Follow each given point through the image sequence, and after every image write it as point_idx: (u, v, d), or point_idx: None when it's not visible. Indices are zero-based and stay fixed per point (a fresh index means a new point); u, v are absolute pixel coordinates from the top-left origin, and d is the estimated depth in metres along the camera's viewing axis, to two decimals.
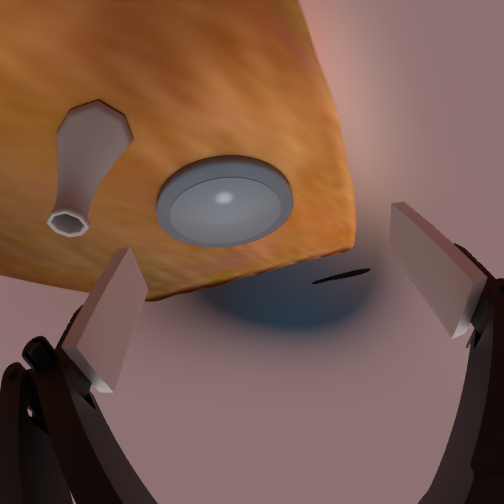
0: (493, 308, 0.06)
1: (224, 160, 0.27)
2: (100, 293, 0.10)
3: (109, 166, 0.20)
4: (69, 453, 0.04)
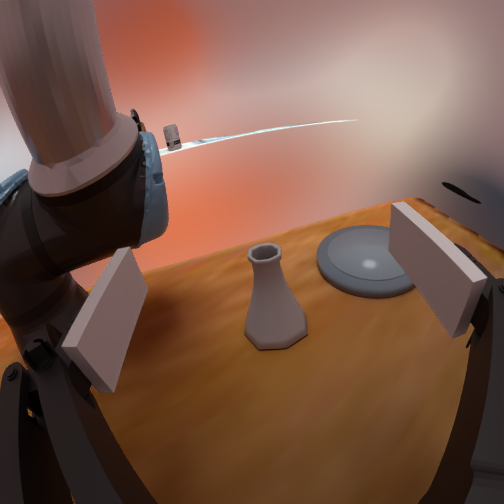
0: (493, 308, 0.06)
1: (317, 259, 0.40)
2: (100, 293, 0.10)
3: None
4: (69, 453, 0.04)
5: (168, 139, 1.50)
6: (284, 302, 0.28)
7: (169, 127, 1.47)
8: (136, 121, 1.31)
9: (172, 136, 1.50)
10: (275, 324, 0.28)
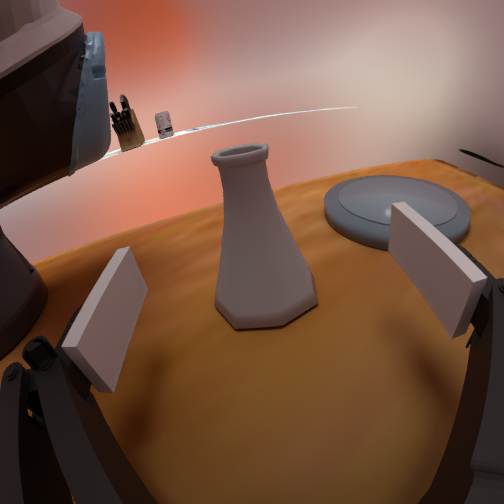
0: (493, 308, 0.06)
1: None
2: (100, 293, 0.10)
3: None
4: (69, 453, 0.04)
5: (159, 126, 1.40)
6: (276, 241, 0.16)
7: (160, 113, 1.36)
8: (125, 107, 1.20)
9: (163, 123, 1.39)
10: (261, 282, 0.16)
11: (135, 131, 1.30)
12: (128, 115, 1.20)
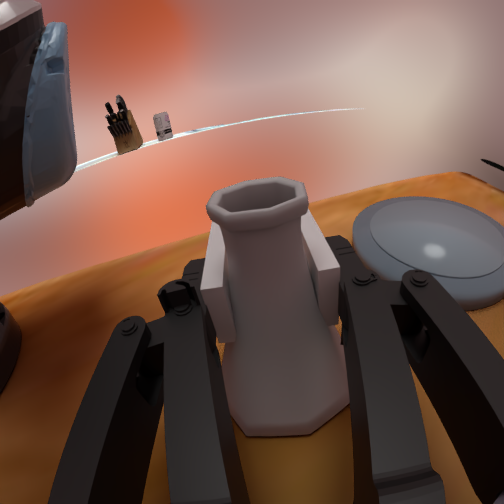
0: (350, 306, 0.08)
1: (353, 245, 0.22)
2: (221, 244, 0.12)
3: None
4: (183, 415, 0.06)
5: (158, 128, 1.34)
6: (311, 337, 0.10)
7: (159, 114, 1.30)
8: (122, 108, 1.14)
9: (162, 125, 1.33)
10: (286, 390, 0.10)
11: (132, 133, 1.24)
12: (124, 116, 1.14)
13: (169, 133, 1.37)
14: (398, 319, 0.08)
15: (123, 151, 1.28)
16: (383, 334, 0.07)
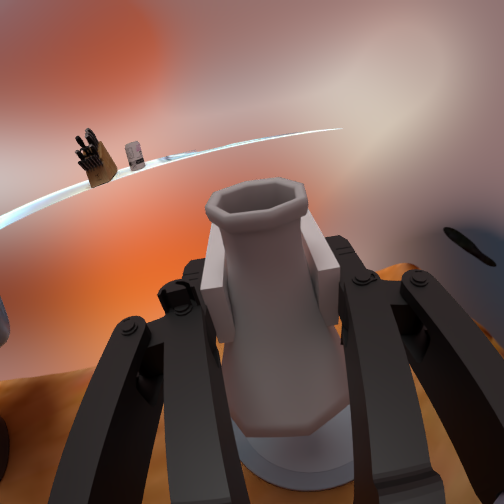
0: (349, 306, 0.08)
1: None
2: (221, 244, 0.12)
3: None
4: (182, 414, 0.06)
5: (130, 158, 1.34)
6: (311, 339, 0.10)
7: (130, 145, 1.30)
8: (91, 141, 1.14)
9: (134, 155, 1.33)
10: (286, 392, 0.10)
11: (103, 166, 1.24)
12: (94, 151, 1.14)
13: (141, 163, 1.37)
14: (398, 319, 0.08)
15: (95, 184, 1.27)
16: (383, 334, 0.07)
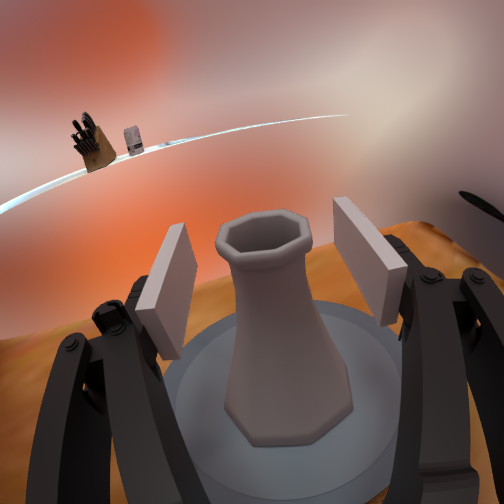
0: (417, 301, 0.07)
1: None
2: (167, 261, 0.11)
3: None
4: (127, 428, 0.05)
5: (128, 143, 1.28)
6: (313, 358, 0.11)
7: (128, 129, 1.25)
8: (88, 125, 1.08)
9: (132, 140, 1.27)
10: (289, 406, 0.11)
11: (99, 150, 1.19)
12: (90, 135, 1.08)
13: (139, 148, 1.31)
14: (455, 312, 0.08)
15: (92, 169, 1.22)
16: (444, 331, 0.06)
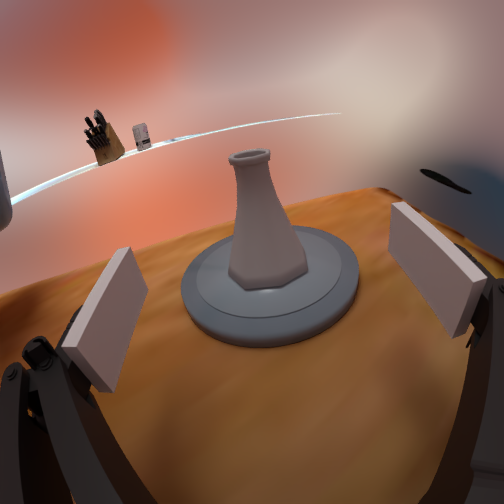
0: (493, 308, 0.06)
1: None
2: (100, 293, 0.10)
3: None
4: (69, 453, 0.04)
5: (137, 139, 1.39)
6: (276, 220, 0.22)
7: (137, 126, 1.36)
8: (99, 122, 1.19)
9: (141, 136, 1.39)
10: (265, 251, 0.22)
11: (110, 145, 1.30)
12: (101, 130, 1.20)
13: (147, 143, 1.43)
14: None
15: (103, 162, 1.33)
16: None
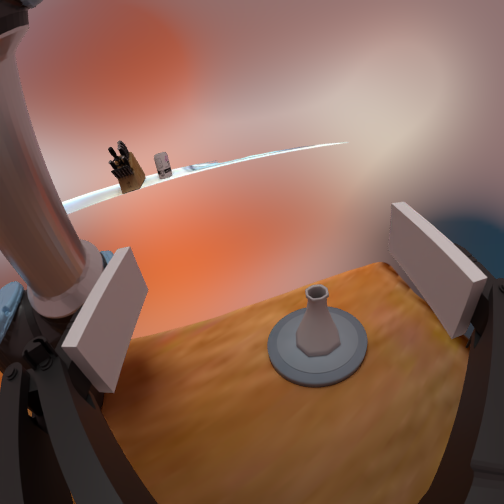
0: (493, 308, 0.06)
1: None
2: (100, 293, 0.10)
3: None
4: (69, 453, 0.04)
5: (159, 167, 1.57)
6: (327, 324, 0.39)
7: (159, 155, 1.53)
8: (123, 153, 1.37)
9: (162, 165, 1.56)
10: (321, 339, 0.39)
11: (134, 175, 1.47)
12: (126, 162, 1.37)
13: (169, 172, 1.60)
14: None
15: (126, 190, 1.50)
16: None
